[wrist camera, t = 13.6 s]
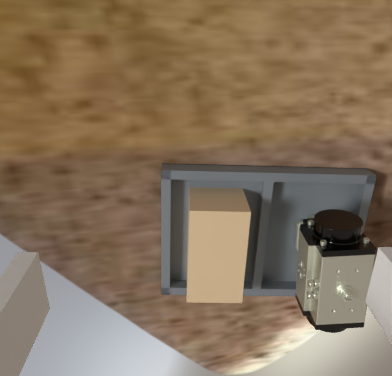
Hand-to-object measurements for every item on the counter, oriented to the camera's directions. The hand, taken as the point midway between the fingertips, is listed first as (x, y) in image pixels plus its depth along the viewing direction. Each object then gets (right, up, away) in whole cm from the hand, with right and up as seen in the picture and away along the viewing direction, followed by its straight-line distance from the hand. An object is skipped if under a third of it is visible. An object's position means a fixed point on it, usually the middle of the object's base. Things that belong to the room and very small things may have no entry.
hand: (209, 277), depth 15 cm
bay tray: (+7, -1, +30) cm, 31 cm away
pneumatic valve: (+12, -2, +30) cm, 33 cm away
